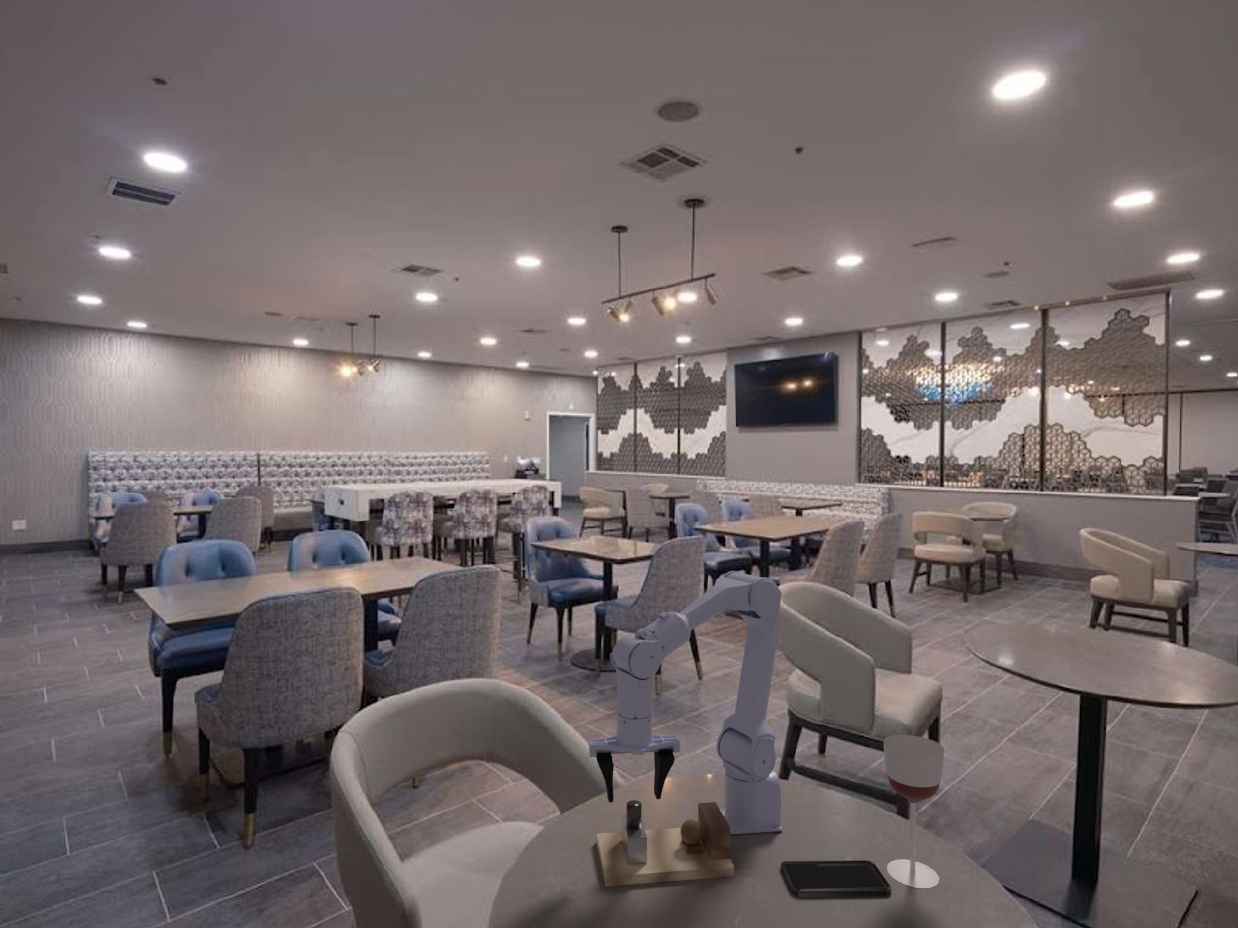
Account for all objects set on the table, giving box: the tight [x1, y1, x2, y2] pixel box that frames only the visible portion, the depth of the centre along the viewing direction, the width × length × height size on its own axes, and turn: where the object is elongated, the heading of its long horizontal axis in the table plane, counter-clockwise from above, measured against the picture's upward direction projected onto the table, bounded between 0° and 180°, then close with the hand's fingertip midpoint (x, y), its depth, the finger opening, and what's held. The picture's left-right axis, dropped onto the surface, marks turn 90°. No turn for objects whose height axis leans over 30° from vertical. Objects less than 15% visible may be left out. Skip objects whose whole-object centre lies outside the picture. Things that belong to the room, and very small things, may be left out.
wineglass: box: [883, 734, 945, 889], centre depth 105 cm, size 8×9×20 cm
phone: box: [780, 859, 892, 898], centre depth 103 cm, size 8×1×15 cm
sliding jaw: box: [620, 799, 647, 864], centre depth 107 cm, size 3×7×8 cm, turn 8°
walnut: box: [680, 819, 703, 845], centre depth 109 cm, size 4×4×4 cm
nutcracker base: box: [596, 801, 735, 888], centre depth 108 cm, size 20×12×6 cm, turn 98°
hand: (633, 797), depth 107 cm, fingers open, 7 cm apart
